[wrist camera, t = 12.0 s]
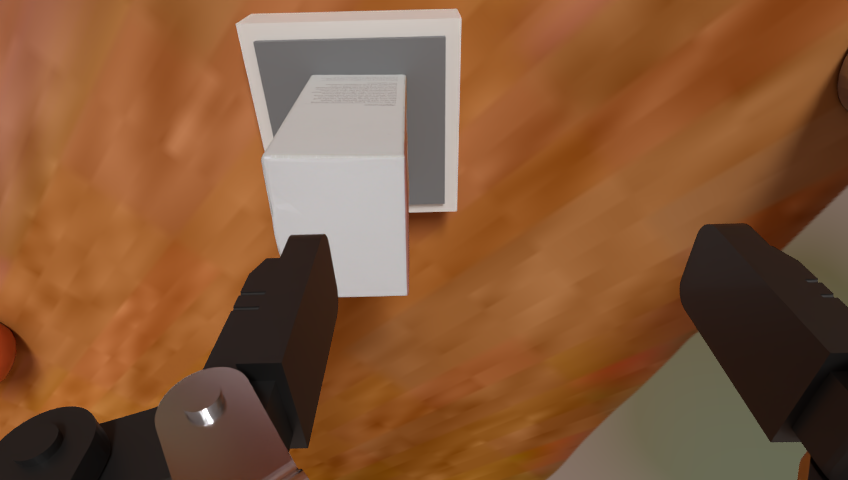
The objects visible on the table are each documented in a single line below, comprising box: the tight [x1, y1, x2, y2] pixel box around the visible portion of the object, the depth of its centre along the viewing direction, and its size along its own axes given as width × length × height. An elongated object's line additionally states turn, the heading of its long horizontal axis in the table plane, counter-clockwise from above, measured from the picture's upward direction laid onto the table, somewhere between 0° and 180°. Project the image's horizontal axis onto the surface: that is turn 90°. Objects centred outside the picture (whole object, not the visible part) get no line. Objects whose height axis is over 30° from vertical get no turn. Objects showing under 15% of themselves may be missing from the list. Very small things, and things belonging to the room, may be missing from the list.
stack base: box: [236, 9, 461, 213], centre depth 35 cm, size 14×14×4 cm
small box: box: [261, 74, 409, 297], centre depth 28 cm, size 8×6×13 cm
